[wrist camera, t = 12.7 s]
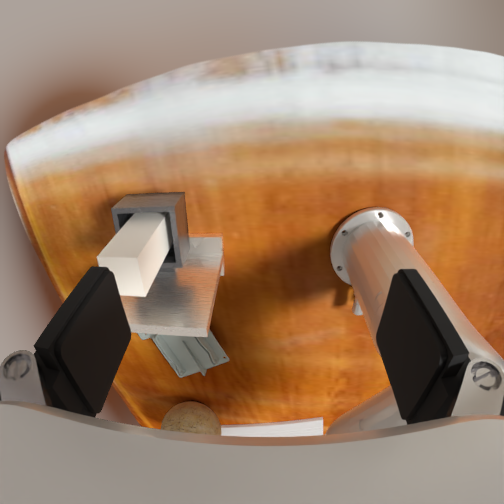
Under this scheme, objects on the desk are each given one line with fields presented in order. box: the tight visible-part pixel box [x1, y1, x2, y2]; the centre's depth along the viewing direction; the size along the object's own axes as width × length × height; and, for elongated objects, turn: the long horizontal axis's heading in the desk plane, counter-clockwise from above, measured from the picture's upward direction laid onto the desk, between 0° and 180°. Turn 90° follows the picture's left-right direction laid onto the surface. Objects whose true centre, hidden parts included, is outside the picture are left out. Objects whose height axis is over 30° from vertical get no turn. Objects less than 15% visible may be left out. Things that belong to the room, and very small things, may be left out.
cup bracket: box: [111, 192, 225, 337], centre depth 35 cm, size 14×14×16 cm
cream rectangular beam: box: [97, 212, 173, 297], centre depth 31 cm, size 4×4×11 cm
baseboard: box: [221, 417, 323, 437], centre depth 68 cm, size 31×3×12 cm
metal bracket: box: [138, 329, 229, 378], centre depth 52 cm, size 14×6×15 cm
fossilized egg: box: [161, 401, 222, 436], centre depth 57 cm, size 13×13×15 cm
